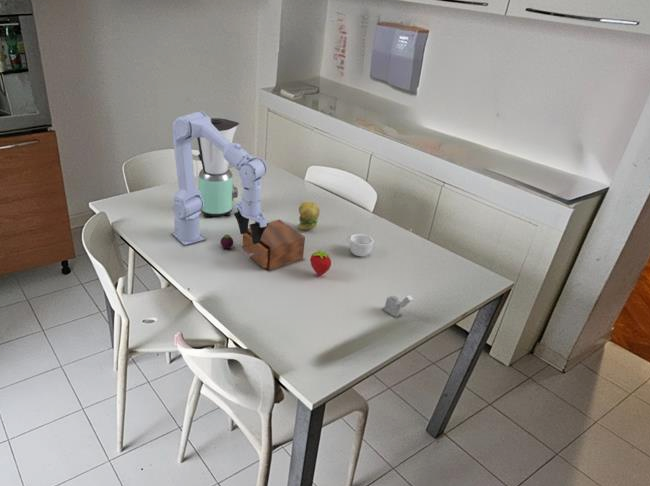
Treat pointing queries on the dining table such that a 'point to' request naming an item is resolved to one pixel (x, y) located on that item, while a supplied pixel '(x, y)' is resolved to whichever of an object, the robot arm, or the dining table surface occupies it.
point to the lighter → (396, 304)
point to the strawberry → (320, 262)
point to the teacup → (360, 244)
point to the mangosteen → (226, 242)
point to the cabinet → (282, 244)
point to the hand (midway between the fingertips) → (249, 238)
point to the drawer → (254, 250)
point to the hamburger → (308, 215)
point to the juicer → (216, 172)
